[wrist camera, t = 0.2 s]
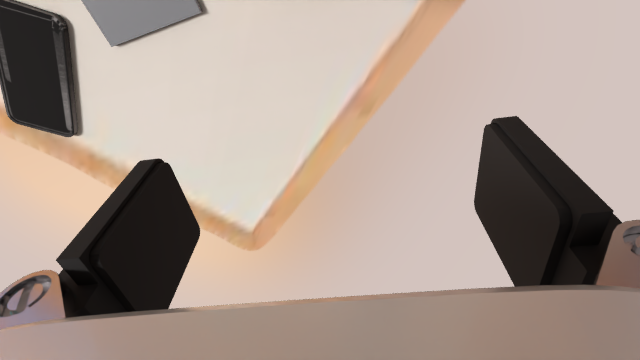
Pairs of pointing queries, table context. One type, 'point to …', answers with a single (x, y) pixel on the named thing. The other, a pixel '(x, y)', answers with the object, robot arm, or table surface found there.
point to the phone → (36, 69)
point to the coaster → (137, 16)
